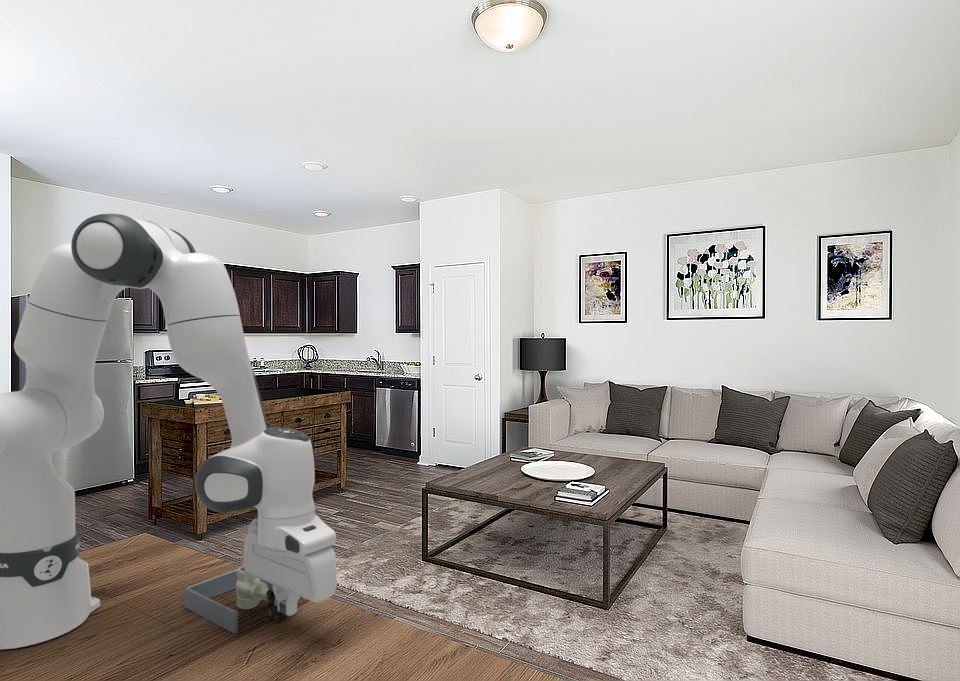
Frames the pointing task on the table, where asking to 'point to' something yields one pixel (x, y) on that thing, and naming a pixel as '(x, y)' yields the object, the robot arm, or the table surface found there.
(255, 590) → the valve
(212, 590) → the valve dock
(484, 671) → the table surface
